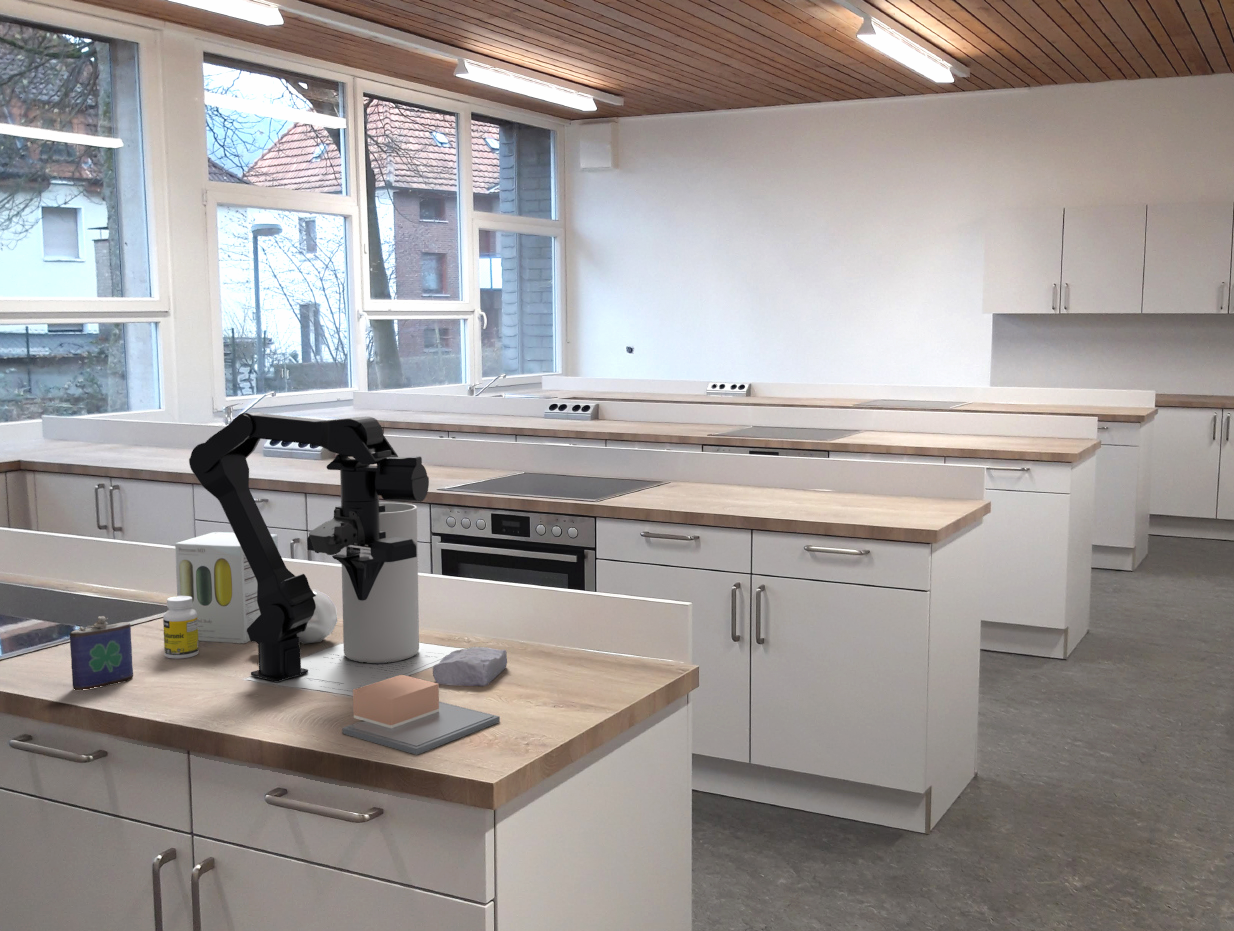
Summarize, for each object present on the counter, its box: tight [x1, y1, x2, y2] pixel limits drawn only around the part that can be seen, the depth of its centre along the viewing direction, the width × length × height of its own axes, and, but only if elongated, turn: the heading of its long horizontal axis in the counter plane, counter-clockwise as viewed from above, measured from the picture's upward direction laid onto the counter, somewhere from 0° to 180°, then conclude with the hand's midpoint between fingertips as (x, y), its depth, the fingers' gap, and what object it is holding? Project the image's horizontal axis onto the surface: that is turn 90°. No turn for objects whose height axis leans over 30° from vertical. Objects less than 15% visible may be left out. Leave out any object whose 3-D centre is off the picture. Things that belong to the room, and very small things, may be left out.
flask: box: [69, 615, 134, 691], centre depth 180 cm, size 9×3×11 cm, turn 138°
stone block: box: [432, 646, 508, 687], centre depth 185 cm, size 12×5×10 cm
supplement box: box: [174, 531, 279, 644], centre depth 211 cm, size 13×13×18 cm
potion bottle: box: [255, 588, 338, 645], centre depth 203 cm, size 9×10×15 cm
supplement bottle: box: [162, 595, 200, 660], centre depth 196 cm, size 5×5×10 cm
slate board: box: [342, 701, 501, 756], centre depth 160 cm, size 14×16×1 cm
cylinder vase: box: [341, 502, 420, 664], centre depth 196 cm, size 12×12×25 cm
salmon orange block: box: [352, 674, 440, 728], centre depth 162 cm, size 4×9×8 cm
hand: (362, 600), depth 180 cm, fingers closed
